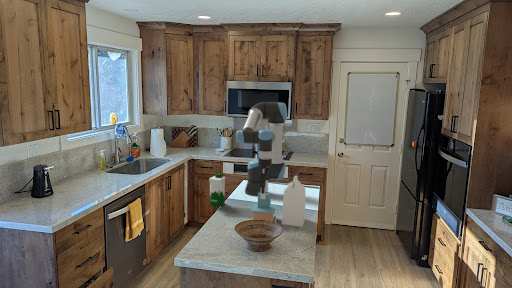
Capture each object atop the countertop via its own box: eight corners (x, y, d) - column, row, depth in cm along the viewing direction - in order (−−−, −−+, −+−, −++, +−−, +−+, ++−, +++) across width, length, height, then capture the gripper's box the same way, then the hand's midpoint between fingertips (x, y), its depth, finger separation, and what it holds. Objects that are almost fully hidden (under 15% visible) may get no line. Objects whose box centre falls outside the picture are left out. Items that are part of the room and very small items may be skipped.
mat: (230, 207, 218) (230, 206, 218) (255, 209, 216) (255, 208, 216) (224, 217, 203) (224, 216, 203) (251, 219, 200) (251, 218, 200)
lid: (254, 204, 206) (254, 189, 204) (276, 205, 204) (277, 191, 202) (250, 211, 193) (250, 196, 192) (274, 213, 191) (274, 198, 190)
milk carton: (226, 204, 225) (226, 173, 222) (220, 208, 217) (220, 177, 214) (214, 202, 228) (214, 172, 225) (207, 206, 220) (207, 175, 217)
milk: (302, 226, 191) (304, 180, 187) (281, 224, 194) (283, 178, 190) (305, 219, 202) (307, 175, 198) (285, 216, 205) (287, 173, 201)
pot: (255, 216, 206) (255, 204, 205) (274, 217, 204) (274, 206, 203) (252, 223, 195) (252, 211, 194) (272, 224, 193) (272, 212, 192)
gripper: (261, 153, 206) (260, 187, 210) (255, 162, 182) (254, 201, 186) (274, 153, 205) (273, 188, 209) (269, 163, 181) (268, 202, 185)
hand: (264, 194), depth 198 cm, fingers open, 13 cm apart
